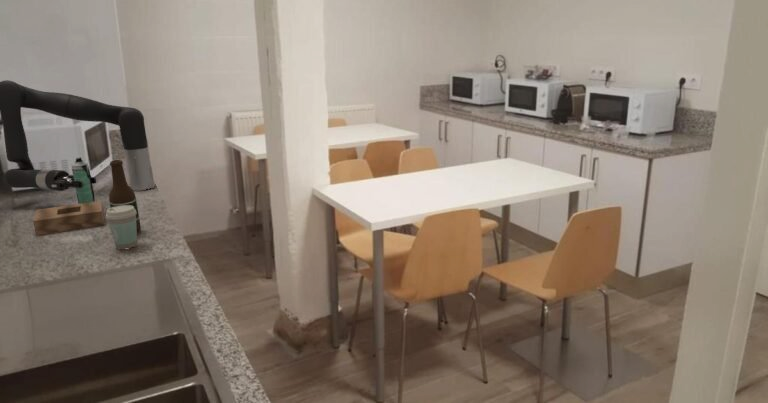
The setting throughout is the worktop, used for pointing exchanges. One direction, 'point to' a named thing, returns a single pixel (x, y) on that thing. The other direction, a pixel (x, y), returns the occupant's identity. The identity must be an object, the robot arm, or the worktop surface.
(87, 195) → the spray can
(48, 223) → the block
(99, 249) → the worktop surface
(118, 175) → the beer bottle
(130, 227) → the coffee cup
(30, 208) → the worktop surface
